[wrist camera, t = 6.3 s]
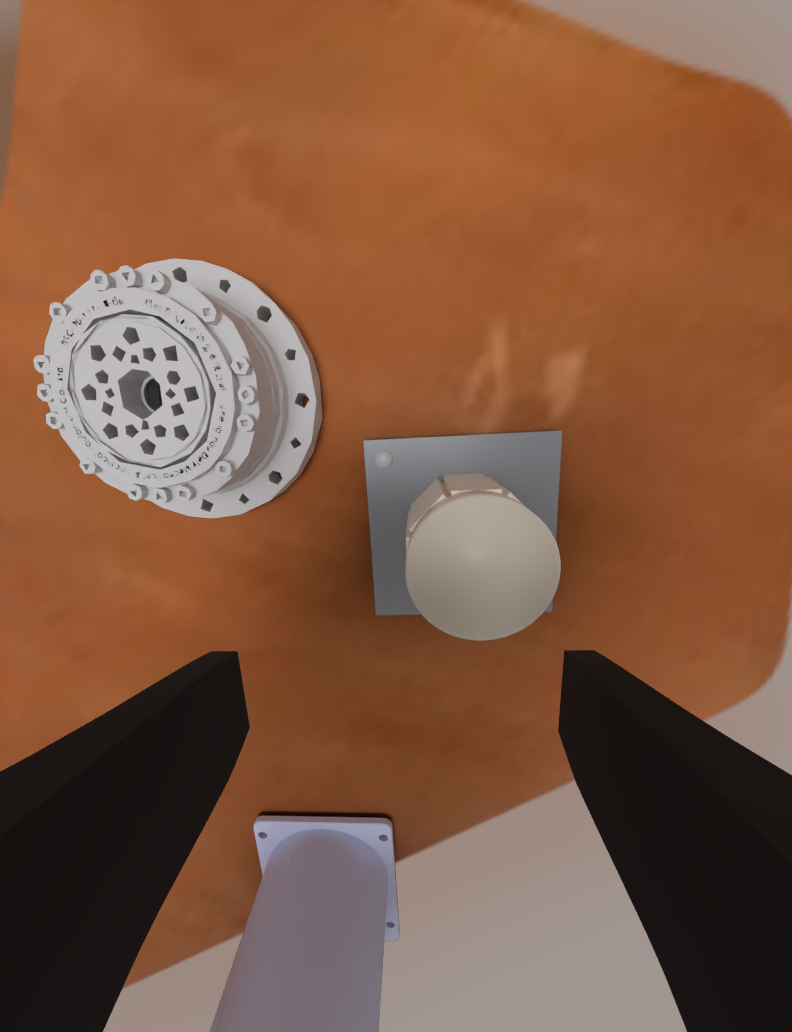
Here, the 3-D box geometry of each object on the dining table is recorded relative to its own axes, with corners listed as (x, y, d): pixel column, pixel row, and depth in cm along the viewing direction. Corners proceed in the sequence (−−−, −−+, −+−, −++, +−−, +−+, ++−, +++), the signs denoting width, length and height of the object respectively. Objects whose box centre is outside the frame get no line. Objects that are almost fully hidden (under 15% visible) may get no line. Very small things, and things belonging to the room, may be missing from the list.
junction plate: (545, 603, 17) (582, 655, 14) (377, 606, 18) (366, 657, 14) (554, 430, 15) (601, 432, 12) (366, 439, 16) (349, 445, 12)
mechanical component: (328, 513, 17) (320, 272, 15) (299, 543, 13) (281, 211, 10) (123, 508, 18) (82, 273, 15) (30, 535, 13) (-48, 216, 11)
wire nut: (514, 575, 16) (555, 640, 11) (410, 577, 17) (408, 641, 12) (518, 471, 15) (565, 494, 10) (407, 475, 15) (402, 500, 11)
